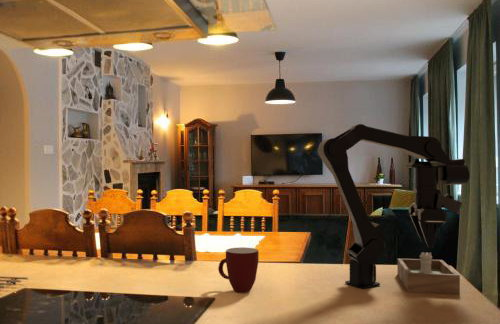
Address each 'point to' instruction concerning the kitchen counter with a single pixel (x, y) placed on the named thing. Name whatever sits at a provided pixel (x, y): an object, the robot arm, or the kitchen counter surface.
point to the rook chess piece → (425, 262)
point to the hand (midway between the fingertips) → (426, 244)
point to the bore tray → (428, 277)
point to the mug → (240, 268)
